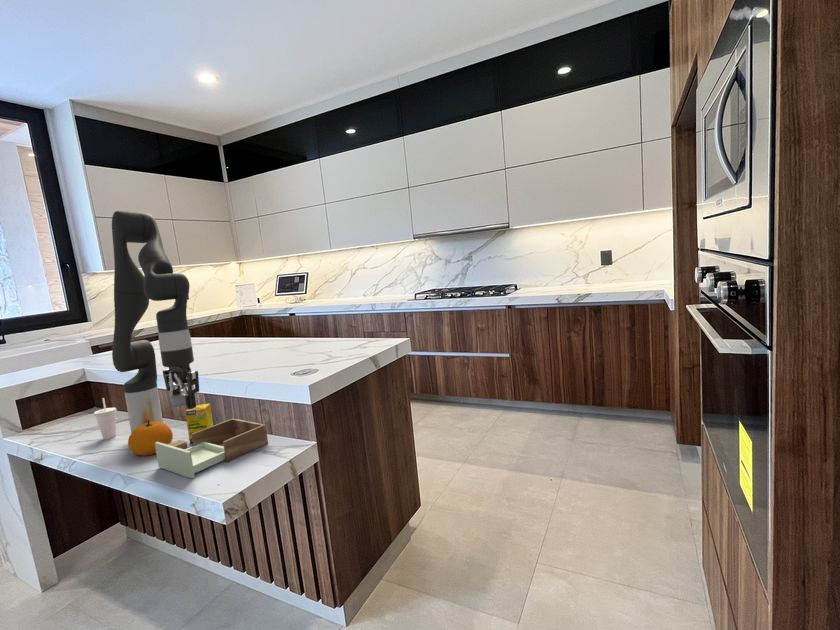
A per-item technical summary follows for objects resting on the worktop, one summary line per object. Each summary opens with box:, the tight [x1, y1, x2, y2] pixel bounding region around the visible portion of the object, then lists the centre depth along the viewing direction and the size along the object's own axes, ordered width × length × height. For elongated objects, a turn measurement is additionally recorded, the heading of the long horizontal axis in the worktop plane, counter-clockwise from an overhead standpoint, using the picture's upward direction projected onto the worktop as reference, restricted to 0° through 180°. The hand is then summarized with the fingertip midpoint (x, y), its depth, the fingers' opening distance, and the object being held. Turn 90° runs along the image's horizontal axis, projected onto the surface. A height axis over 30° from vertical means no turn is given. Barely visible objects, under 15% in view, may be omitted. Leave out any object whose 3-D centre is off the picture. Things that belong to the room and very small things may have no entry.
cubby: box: [192, 418, 269, 463], centre depth 128 cm, size 17×14×6 cm
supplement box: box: [185, 403, 214, 445], centre depth 137 cm, size 6×6×11 cm
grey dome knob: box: [170, 391, 198, 408], centre depth 116 cm, size 6×6×2 cm
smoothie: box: [93, 397, 118, 440], centre depth 147 cm, size 6×6×14 cm
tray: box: [155, 442, 225, 479], centre depth 119 cm, size 17×13×7 cm
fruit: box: [127, 420, 174, 456], centre depth 131 cm, size 12×12×10 cm
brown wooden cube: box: [167, 439, 189, 450], centre depth 125 cm, size 4×4×4 cm
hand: (185, 406), depth 116 cm, fingers closed on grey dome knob, 6 cm apart
